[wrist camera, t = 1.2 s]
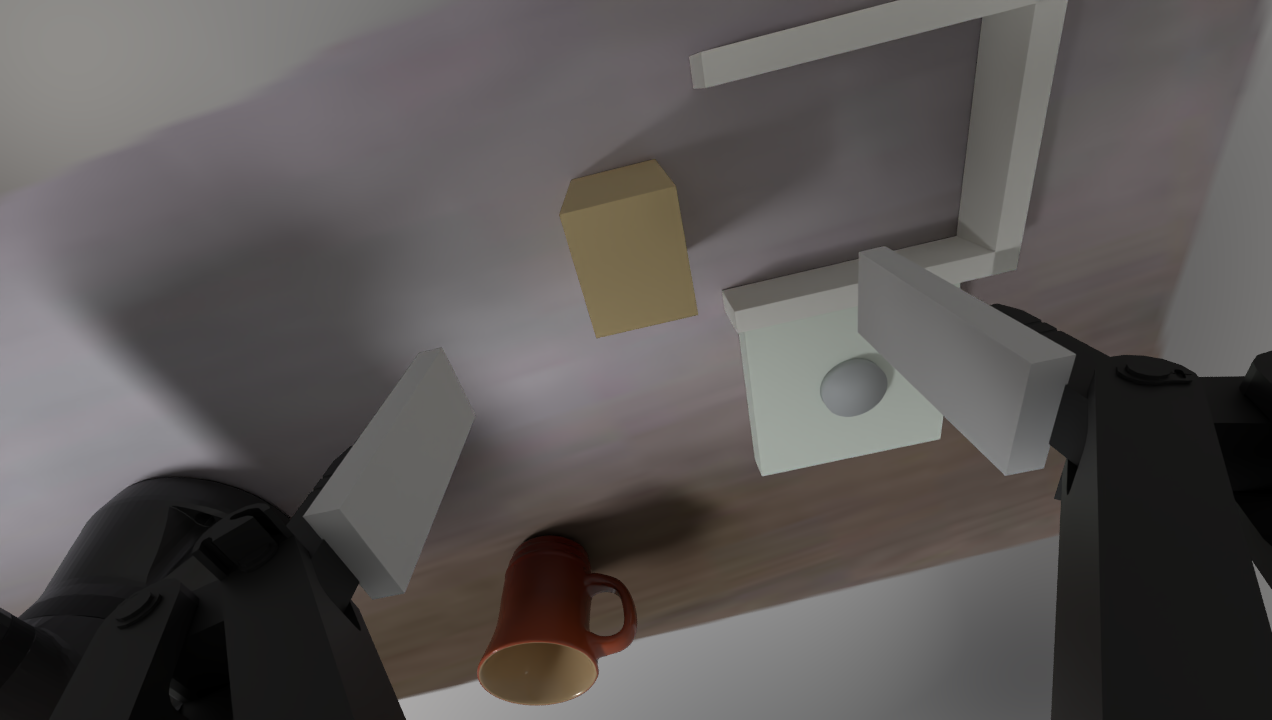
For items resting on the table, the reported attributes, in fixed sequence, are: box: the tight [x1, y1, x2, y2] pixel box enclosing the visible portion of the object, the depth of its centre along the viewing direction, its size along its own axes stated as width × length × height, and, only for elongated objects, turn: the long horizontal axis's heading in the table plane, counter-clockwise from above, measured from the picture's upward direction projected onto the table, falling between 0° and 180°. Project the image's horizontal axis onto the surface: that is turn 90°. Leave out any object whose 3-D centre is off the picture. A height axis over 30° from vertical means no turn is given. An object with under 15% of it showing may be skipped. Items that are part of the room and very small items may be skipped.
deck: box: [689, 0, 1068, 476], centre depth 30 cm, size 17×29×4 cm, turn 13°
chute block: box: [559, 159, 698, 338], centre depth 25 cm, size 5×6×9 cm
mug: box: [477, 535, 637, 705], centre depth 39 cm, size 12×9×10 cm
